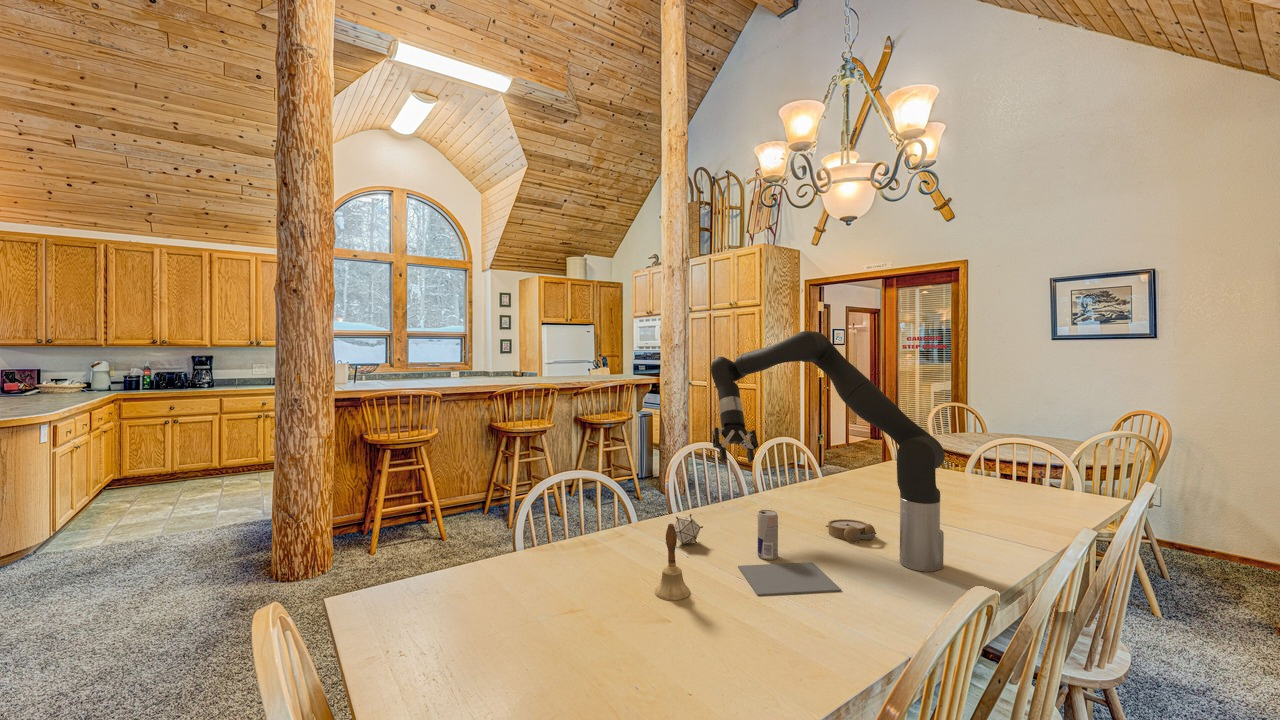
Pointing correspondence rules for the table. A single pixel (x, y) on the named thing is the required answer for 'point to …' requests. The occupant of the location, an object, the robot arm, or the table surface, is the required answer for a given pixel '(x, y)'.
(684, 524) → the game die
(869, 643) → the table surface
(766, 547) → the energy drink
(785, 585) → the slate mat
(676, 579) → the hand bell
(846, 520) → the alarm clock
